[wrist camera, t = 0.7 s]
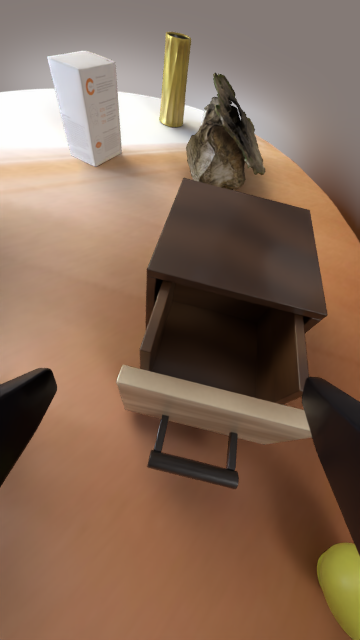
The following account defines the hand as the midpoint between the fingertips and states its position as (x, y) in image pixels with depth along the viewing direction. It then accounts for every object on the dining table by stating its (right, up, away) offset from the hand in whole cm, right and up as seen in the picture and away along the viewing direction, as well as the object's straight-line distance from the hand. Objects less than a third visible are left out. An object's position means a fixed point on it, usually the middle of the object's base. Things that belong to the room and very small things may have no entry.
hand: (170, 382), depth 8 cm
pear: (+12, -18, +10) cm, 24 cm away
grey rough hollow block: (+9, +34, +42) cm, 55 cm away
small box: (-16, +35, +38) cm, 54 cm away
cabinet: (+5, +5, +23) cm, 24 cm away
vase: (-2, +53, +51) cm, 74 cm away
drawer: (+3, -4, +16) cm, 17 cm away
